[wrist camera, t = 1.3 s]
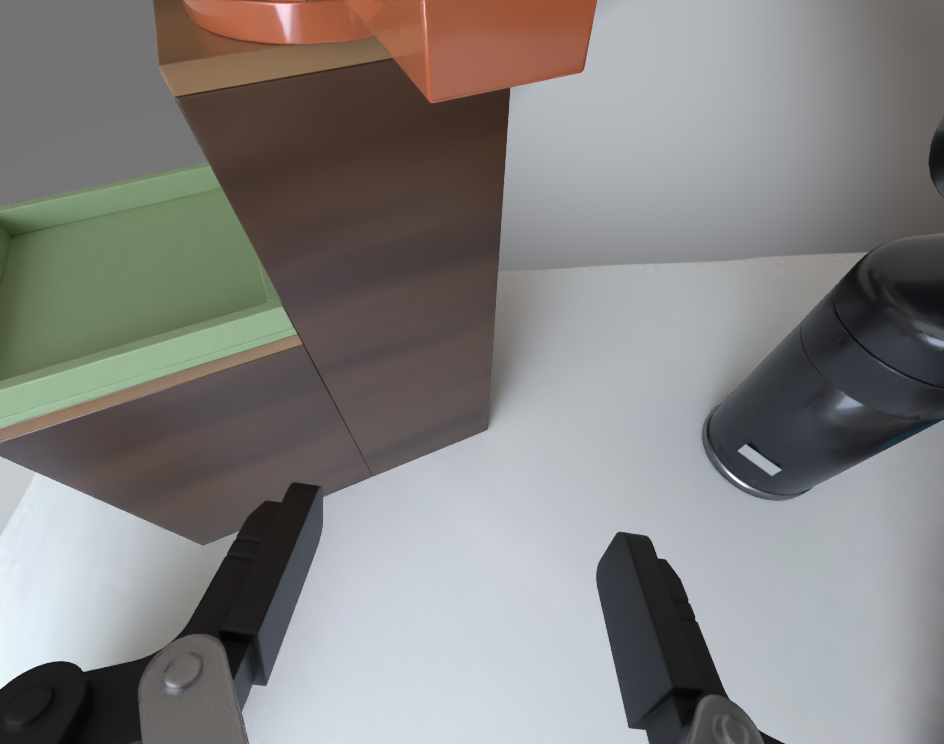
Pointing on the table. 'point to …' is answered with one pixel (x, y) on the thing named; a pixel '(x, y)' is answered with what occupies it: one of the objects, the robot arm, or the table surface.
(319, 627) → the table surface
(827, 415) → the robot arm
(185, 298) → the tray
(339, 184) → the stand
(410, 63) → the saucepan
